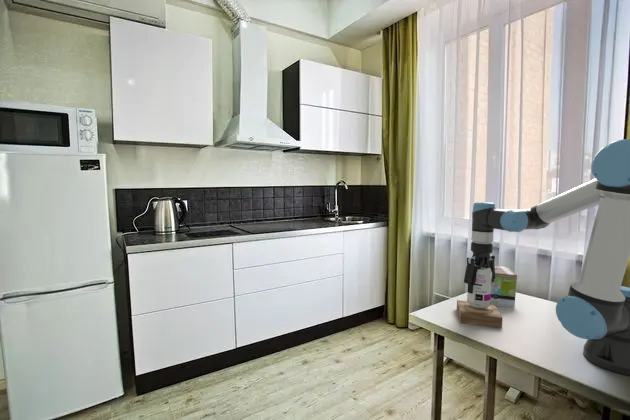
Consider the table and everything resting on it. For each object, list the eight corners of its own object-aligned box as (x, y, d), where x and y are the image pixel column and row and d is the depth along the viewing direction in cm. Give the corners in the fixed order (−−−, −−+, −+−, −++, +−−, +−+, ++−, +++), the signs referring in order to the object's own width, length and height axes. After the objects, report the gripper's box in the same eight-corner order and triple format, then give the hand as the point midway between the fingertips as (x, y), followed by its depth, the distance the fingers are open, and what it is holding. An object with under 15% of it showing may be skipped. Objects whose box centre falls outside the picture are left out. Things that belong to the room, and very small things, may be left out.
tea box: (515, 308, 139) (517, 274, 138) (489, 305, 142) (491, 272, 141) (505, 296, 154) (507, 265, 153) (482, 294, 157) (483, 264, 155)
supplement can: (484, 301, 132) (486, 265, 131) (494, 309, 124) (496, 270, 123) (464, 300, 133) (465, 264, 132) (471, 308, 125) (473, 269, 123)
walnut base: (501, 328, 120) (502, 317, 120) (460, 322, 124) (461, 312, 124) (493, 313, 133) (494, 303, 133) (456, 309, 138) (457, 299, 137)
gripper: (490, 238, 134) (487, 292, 136) (454, 242, 125) (452, 300, 127) (508, 241, 128) (504, 298, 130) (472, 245, 118) (469, 306, 120)
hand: (478, 299), depth 128 cm, fingers closed on supplement can, 8 cm apart
